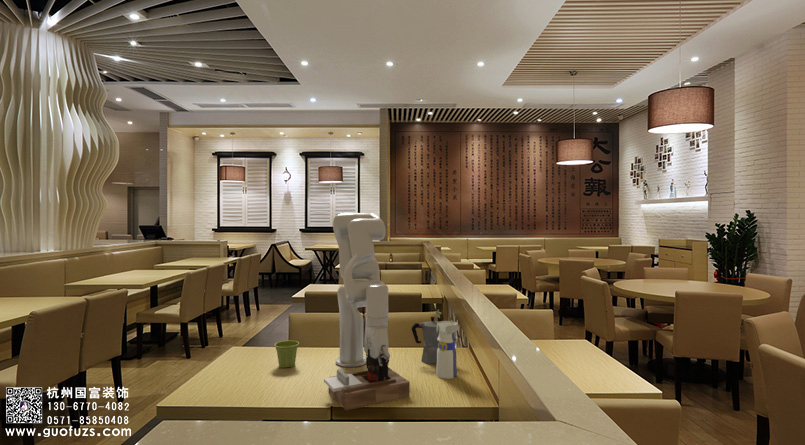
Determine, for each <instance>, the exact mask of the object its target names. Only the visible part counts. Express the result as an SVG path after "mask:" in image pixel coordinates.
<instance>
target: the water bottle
mask: <svg viewBox="0 0 805 445" xmlns="http://www.w3.org/2000/svg"><path fill="white" fill-rule="evenodd" d="M435 314H436V315H435V316H436V317H435V318H439V319H441V315H442V312H440V309H439V308H438V309H437V311H435ZM437 322H438V323H437V333H438V328H439V337H438V338H437V340H438V350H437V364H436V369H435V370H436V374H435V375H436V376H437V378H441V379H447V380H449V379H455V378H457V377H458V370H457V367H458V366H457V349H456V341H457V338H456V336H455V333H456V332H457V331H459V330H460V326H459V324H458V322H456V321H452V320H442V321H437Z"/></svg>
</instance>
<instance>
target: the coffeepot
mask: <svg viewBox="0 0 805 445" xmlns="http://www.w3.org/2000/svg"><path fill="white" fill-rule="evenodd" d="M435 318H436V317H435V316H430V321H429V320H428V321H423V322H417V323H414V324H413V325H412V326H411V331H412V332H411V333H412V336H413V338H414V341H415V343H416V344H421V343H422V340H423V341H424V343H423V350H422V355H421V362H422V363H425V364H427V365H437V350H438V340H437V338H438V337H439V328H438V333H437V323H438V322H439V321H437V320H435ZM416 329H422V337H423V339H422V340H419V337H418V332H417V330H416Z"/></svg>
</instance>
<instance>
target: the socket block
mask: <svg viewBox="0 0 805 445" xmlns="http://www.w3.org/2000/svg"><path fill="white" fill-rule="evenodd" d="M348 374H352V375H353V376H355V377H356V378H357V379H358V380H359V381H360V382H362V385H358V386H352V387H347V388H342V390H341V391H336V392H333V391H332V390H331V389H330V388H329V387H328V393H329V394H330V396H331V397H332V398H333V399H334V400H335V401H336V402H337V403H338V404H339V405H340V404H341V405H342V406H343V407H342V406H341V405H340V406H341V407H342V409H344V411H345V412H346V411H351V410H352V411H353V410H356V409H360V408H365V406H366V407H370V406H375V405H380V404H384V403H389V402H393V401H397V400H401V399H407V398H410V380H407V379H406V378H405V377H403V376H402V375H400V374H399V373H397V372H396V371H395V370H393V369H392V368H390V367H389V366H388V377H385V380H384V381H379V382H374V383H369V382H368V369H367V370H360V371H357V372H350V373H348ZM336 376H337V375H334V376H329V377H328V378H330V377H336ZM369 405H370V406H369Z"/></svg>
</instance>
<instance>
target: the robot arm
mask: <svg viewBox="0 0 805 445" xmlns="http://www.w3.org/2000/svg"><path fill="white" fill-rule="evenodd" d="M332 230H333V233H334V236H335V239H336V243H337V245H338V261H339V263H338V264H339V274H340V277H341V278H342V280H343V284H342V285H341V286H339V287H338V289H337V292H336V293H337V294H336V295H337V302H338V304H337V305H338V309H339V312H338V313H339V314H338V315H339V356H338V357H337V358H336V359H335V364H336V365H338V366H340V367H344V368H345V367H347V368H355V367H361V366H364V365H365V366H366V367H365V369H367V370H368V349H370V356H371V357H372V358H374V359H377V358H378V361H379V366H378V377H379V378H384V377H388V367H389V364H390V363H389V362H390V357H391V353H390V352H389V334H388V332H389V331H388V326H389V286H388V285H387V284H385V283H384V281H383V280H381V276H380V274H381V273H380V266H379V262H378V260H377V258H376V257H375V256H376V251H375V246H374V243H373V242H374V241H383V240H384V238H385V237H386V232H387V231H386V226H385V222H384V221H383V220H382V218H381V217H379V216H378V215H376V214H374V213H371V212H370V213H367V212H344V213H339V214H337V215H335V216H334V217H333V220H332ZM364 307H365V328H364V317H363V315H362V313H361V312H360V311H359V310H358V308H364ZM364 329H365V330H364ZM364 353H365V355H364ZM380 355H382V356H380ZM382 358H384V359H383V360H382V361H381V359H382Z"/></svg>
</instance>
